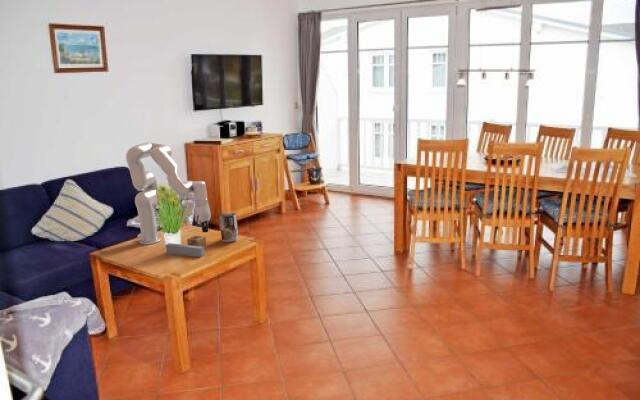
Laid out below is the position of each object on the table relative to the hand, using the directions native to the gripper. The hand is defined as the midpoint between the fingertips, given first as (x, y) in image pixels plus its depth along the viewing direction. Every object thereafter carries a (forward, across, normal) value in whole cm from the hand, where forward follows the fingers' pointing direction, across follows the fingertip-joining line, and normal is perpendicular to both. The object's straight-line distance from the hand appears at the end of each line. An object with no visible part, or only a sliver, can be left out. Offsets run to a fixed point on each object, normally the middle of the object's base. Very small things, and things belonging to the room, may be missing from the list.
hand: (205, 231), depth 322 cm
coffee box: (+8, -8, +11) cm, 16 cm away
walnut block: (+7, +9, -1) cm, 11 cm away
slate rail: (+7, +20, -1) cm, 21 cm away
